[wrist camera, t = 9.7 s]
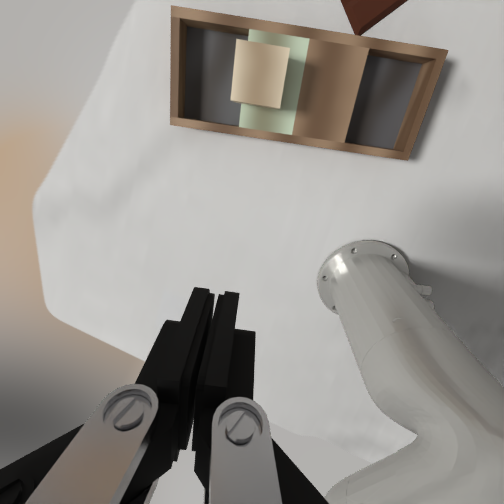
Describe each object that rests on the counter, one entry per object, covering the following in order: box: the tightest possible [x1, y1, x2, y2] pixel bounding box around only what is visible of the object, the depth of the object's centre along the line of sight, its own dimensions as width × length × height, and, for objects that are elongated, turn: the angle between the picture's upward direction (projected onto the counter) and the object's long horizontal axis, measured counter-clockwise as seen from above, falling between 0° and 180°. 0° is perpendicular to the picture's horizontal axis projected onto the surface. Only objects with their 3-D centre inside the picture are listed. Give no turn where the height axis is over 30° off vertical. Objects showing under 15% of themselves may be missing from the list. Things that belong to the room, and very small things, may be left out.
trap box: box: [170, 5, 448, 161], centre depth 29 cm, size 26×10×3 cm, turn 82°
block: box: [231, 39, 290, 109], centre depth 26 cm, size 4×4×4 cm
